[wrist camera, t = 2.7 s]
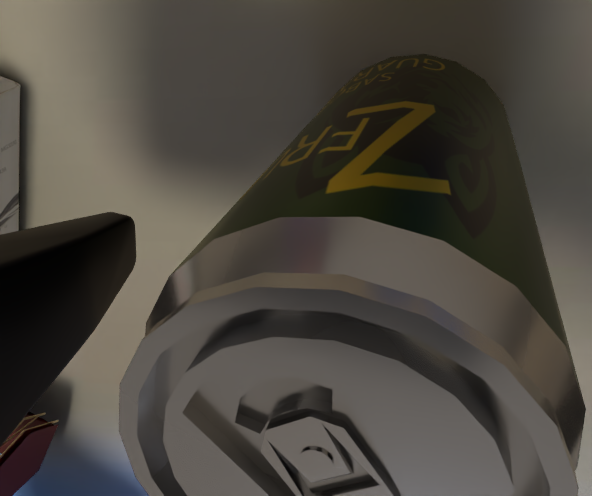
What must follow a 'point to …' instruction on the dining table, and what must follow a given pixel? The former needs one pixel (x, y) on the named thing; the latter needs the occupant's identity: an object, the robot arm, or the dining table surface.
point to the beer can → (366, 316)
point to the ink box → (9, 155)
